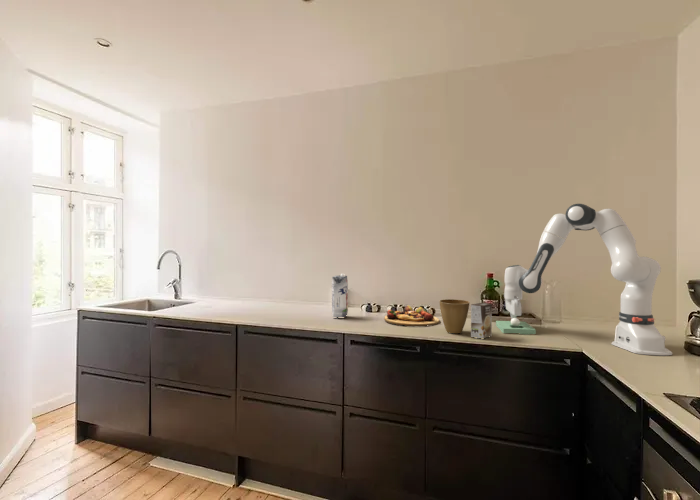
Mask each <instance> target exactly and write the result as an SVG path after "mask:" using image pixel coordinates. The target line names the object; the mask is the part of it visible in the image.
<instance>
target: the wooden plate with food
mask: <svg viewBox="0 0 700 500" xmlns="http://www.w3.org/2000/svg"><path fill="white" fill-rule="evenodd" d="M383 320H384V321H385V322H386V323H387V322H388V324H390V323H392V324H391V325H393V324H396V325H395V326H399V325H405V326H404V327H407V326H425V327H428V326H427V325H432V326H436V325H438V324H440V321H441V320H440V319H439V317H436V316H434V314H433V313H430V312H429V311H428V310H427V309H425V308H423V307H422V306H420V307H417V308H416V310H414V309H413V308H412V306H411V305H406V306H405V307H404V309H403V310H402V311H400V310H396V311H395V310H392V309H387V313H386V315H385V316H384V317H383ZM435 324H436V325H435Z"/></svg>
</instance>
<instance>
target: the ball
mask: <svg viewBox="0 0 700 500" xmlns="http://www.w3.org/2000/svg"><path fill="white" fill-rule="evenodd" d="M510 321H511V324H512V325H513V326H518V325H519V324H520V321H521V320H520V319H519V318H517V317H516V318H513V319H511V318H510Z"/></svg>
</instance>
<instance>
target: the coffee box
mask: <svg viewBox="0 0 700 500" xmlns="http://www.w3.org/2000/svg"><path fill="white" fill-rule="evenodd" d="M470 307H471V308H470V311H471V312H470V337H477V338H486V337H489V336H491V337H492V334H493V333H492V328H493V327H492V326H493V325H492V324H493V322H492V321H493V317H492V315H493V314H492V313H493V309H492V307H493V305H492V303H487V302H479V303H472V304H471V305H470ZM477 338H476V339H477ZM489 338H490V337H489ZM486 339H487V338H486Z"/></svg>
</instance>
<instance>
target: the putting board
mask: <svg viewBox="0 0 700 500" xmlns="http://www.w3.org/2000/svg"><path fill="white" fill-rule="evenodd" d="M519 321H520V324H519V325H518V326H513V325H512V324H511V320H495V326H496V327H497V329H499V330H500V331H501V333H502V334H503V333H520V334H519V335H530V334H536V333H537V331H536V328H534V327H533V326H531V325H530V324H529V323H527V321H521V320H519Z"/></svg>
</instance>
